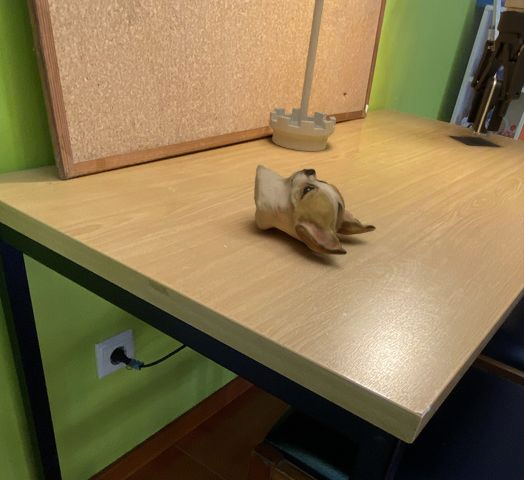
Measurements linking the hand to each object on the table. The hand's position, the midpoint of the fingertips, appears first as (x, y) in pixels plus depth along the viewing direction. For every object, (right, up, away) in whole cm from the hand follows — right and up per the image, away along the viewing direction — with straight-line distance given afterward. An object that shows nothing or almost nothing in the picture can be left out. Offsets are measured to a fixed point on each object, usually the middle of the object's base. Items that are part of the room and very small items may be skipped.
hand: (481, 126), depth 120 cm
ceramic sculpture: (-47, -40, -58) cm, 85 cm away
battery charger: (0, -1, +1) cm, 1 cm away
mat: (-1, -2, +3) cm, 4 cm away
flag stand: (-45, -12, -18) cm, 50 cm away
